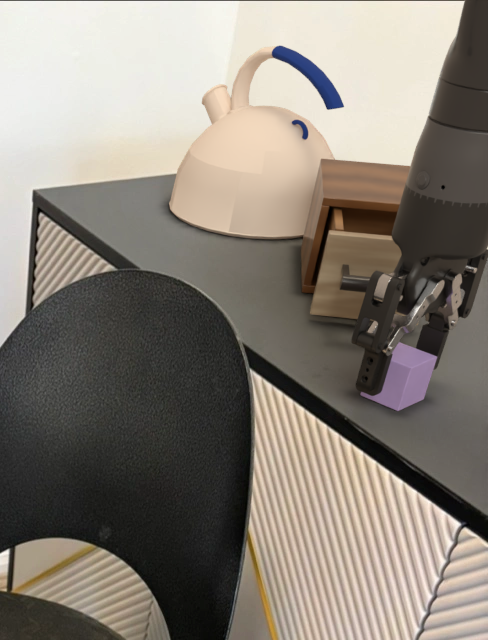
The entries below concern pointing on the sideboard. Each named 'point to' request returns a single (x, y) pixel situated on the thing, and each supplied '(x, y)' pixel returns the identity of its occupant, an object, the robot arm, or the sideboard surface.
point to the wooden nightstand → (347, 201)
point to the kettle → (254, 159)
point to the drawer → (352, 259)
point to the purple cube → (405, 378)
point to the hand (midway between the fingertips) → (395, 379)
